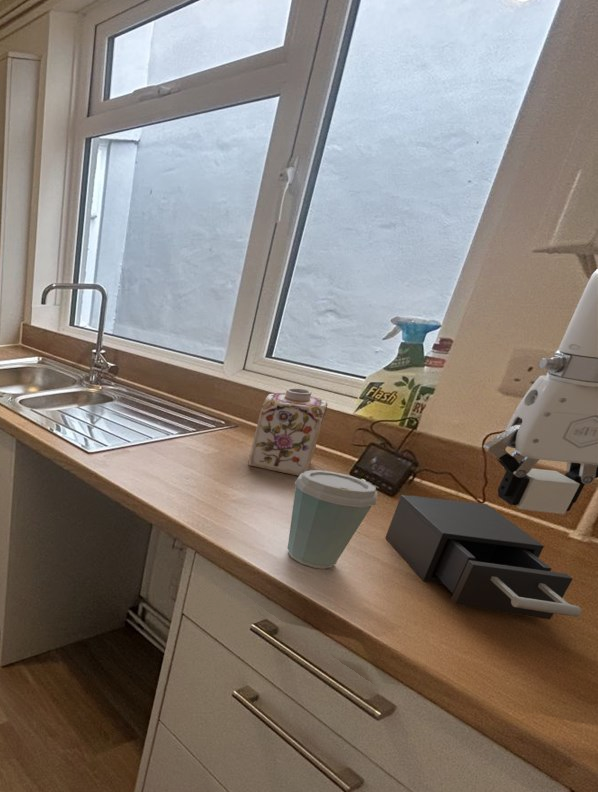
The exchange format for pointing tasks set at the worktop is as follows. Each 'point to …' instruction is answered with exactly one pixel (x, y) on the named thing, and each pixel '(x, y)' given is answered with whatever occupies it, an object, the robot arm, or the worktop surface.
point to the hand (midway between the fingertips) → (532, 502)
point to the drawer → (503, 580)
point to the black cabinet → (448, 530)
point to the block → (548, 492)
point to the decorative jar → (287, 431)
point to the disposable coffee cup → (326, 515)
